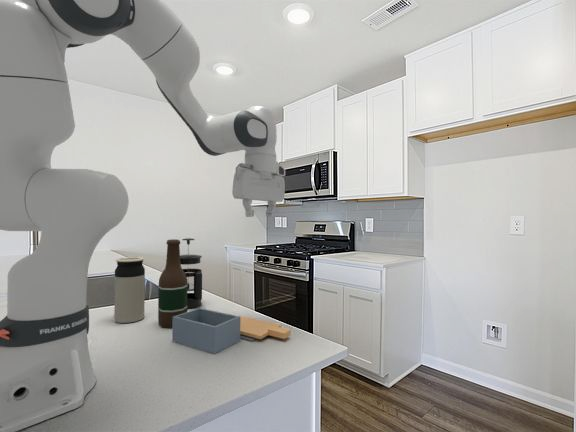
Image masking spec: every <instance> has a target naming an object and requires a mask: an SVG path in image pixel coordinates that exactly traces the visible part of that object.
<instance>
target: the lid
mask: <svg viewBox="0 0 576 432" xmlns="http://www.w3.org/2000/svg"><path fill="white" fill-rule="evenodd" d="M239 316H240V334H242V335H246V336H250V337H254V338H258V339H257V340H262V339H264V338H266V337H268V336H271V337H274V338H278V339H283V340H285V339H286V338H288V337H290V336H291V334H292V333H291V331H292V330H291V329H289V328H285V327H282V324H280V323H276V322H275V323H274V322H270V321H266V320H261V319H257V318H253V317H247V316H243V315H239Z"/></svg>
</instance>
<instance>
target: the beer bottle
mask: <svg viewBox="0 0 576 432" xmlns="http://www.w3.org/2000/svg"><path fill="white" fill-rule="evenodd" d="M165 244H166V245H167V246H166V247H167V249H166V261H165V262H166V263H165V268H164V270H163V271H162V272H161V273H160V276H159V278H158V289H157V290H158V294H157V297H158V298H157V299H158V302H157V305H158V306H157V309H158V310H157V311H158V312H157V314H158V315H157V319H158V320H157V321H158V325H159V327H161V328H162V329H172V320H173V317H174V316H177V315H180V314H183V313H186V312H188V310H187V293H188V291H187V281H188V277H186V274H185V272H184V271H183V269H184V268H182V264H181V263H180V255H181V253H180V252H181V249H180V244H181V240H180V239H174V238H173V239H168V240H166V243H165Z"/></svg>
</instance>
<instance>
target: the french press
mask: <svg viewBox="0 0 576 432" xmlns="http://www.w3.org/2000/svg"><path fill="white" fill-rule="evenodd" d="M181 240H182V241H186V245H187V254H180V263H181V265H182V266H183V265H185V266H186V265H187V268H182V269H183V271H184V272H185V274H186V277H187V311H188V310H195V309H198V308H201V307H202V305H203V303H202V299H203V270H202V269H200V268H189V267H190V266H189V265H196V264H200V263H201V258H202V257H203V256H202V255H198V254H190V244H191V241H195V240H196V239H195V238H190V237H187V238H183V239H181ZM189 278H193V283H192V284H191V283H189Z"/></svg>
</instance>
